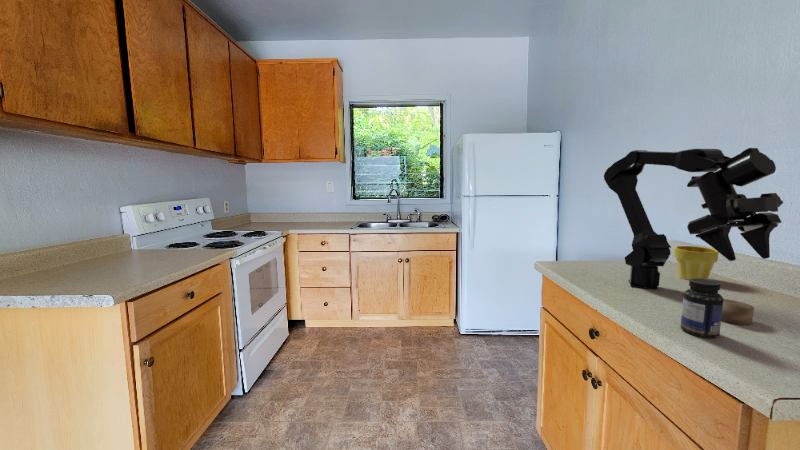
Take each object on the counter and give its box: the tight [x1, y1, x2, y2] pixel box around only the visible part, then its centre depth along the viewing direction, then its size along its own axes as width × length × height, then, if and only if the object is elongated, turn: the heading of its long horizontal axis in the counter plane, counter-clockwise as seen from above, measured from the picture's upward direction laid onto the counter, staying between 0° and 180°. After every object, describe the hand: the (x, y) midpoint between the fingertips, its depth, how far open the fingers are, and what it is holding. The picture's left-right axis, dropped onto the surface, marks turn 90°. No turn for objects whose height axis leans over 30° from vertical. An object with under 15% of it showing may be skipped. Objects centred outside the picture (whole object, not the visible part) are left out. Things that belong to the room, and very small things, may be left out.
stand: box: [721, 298, 755, 326], centre depth 75 cm, size 7×7×4 cm
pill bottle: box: [680, 278, 724, 339], centre depth 69 cm, size 6×6×11 cm
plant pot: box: [674, 245, 720, 281], centre depth 106 cm, size 10×10×10 cm
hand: (749, 259), depth 73 cm, fingers open, 9 cm apart
